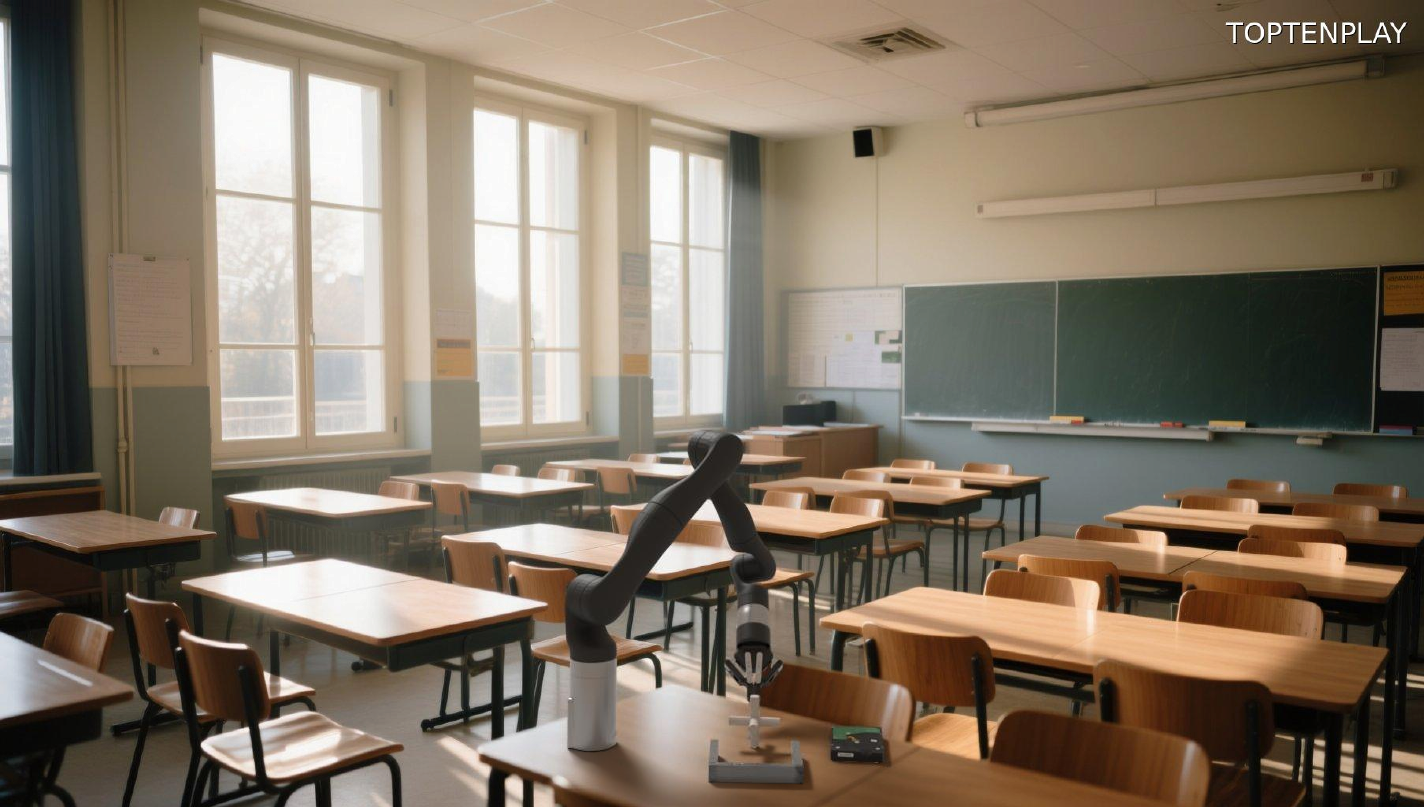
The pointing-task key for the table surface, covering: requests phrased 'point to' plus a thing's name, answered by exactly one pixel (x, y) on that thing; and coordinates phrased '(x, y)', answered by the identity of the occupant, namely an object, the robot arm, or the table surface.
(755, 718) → the pipe connector
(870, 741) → the disk drive
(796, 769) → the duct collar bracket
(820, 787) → the table surface
